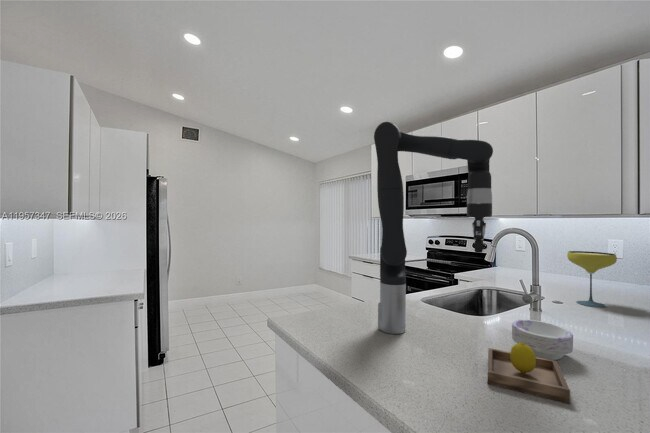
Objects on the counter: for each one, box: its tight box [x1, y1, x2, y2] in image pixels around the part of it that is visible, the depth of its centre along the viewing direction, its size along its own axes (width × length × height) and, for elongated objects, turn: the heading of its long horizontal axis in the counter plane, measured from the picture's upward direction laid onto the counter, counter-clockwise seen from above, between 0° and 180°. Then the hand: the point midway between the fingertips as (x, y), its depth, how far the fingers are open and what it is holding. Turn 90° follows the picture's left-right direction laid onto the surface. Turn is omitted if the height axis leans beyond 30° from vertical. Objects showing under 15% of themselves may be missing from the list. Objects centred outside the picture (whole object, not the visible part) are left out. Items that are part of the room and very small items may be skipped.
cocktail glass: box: [566, 250, 618, 308], centre depth 147 cm, size 18×18×25 cm
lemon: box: [510, 342, 536, 374], centre depth 77 cm, size 6×6×8 cm
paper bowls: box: [511, 319, 574, 361], centre depth 92 cm, size 15×15×8 cm
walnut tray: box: [487, 347, 571, 405], centre depth 77 cm, size 16×16×3 cm
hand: (479, 251), depth 100 cm, fingers open, 8 cm apart
